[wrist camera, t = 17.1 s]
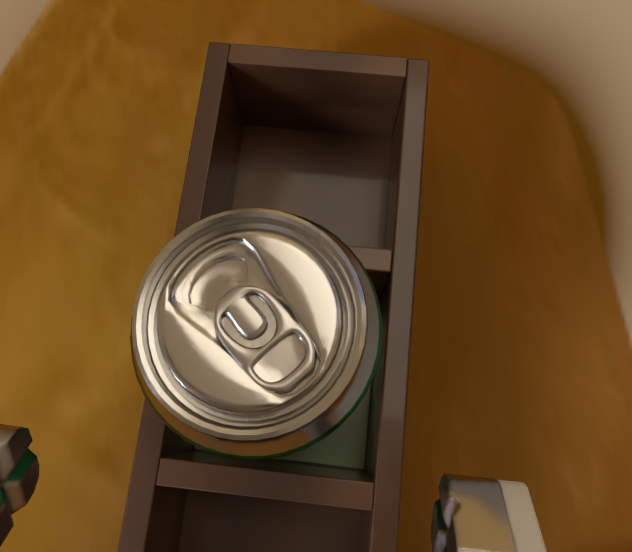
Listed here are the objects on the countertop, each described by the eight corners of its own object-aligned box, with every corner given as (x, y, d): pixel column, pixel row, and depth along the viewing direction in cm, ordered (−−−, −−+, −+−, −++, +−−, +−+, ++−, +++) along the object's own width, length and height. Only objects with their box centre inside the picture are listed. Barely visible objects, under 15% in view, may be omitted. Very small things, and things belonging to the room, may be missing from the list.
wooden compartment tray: (138, 684, 20) (77, 770, 15) (231, 114, 26) (208, 41, 21) (366, 714, 20) (380, 813, 15) (409, 130, 25) (430, 59, 20)
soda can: (297, 284, 23) (267, 139, 11) (382, 380, 22) (447, 331, 10) (198, 367, 22) (54, 304, 10) (281, 470, 21) (227, 530, 9)
